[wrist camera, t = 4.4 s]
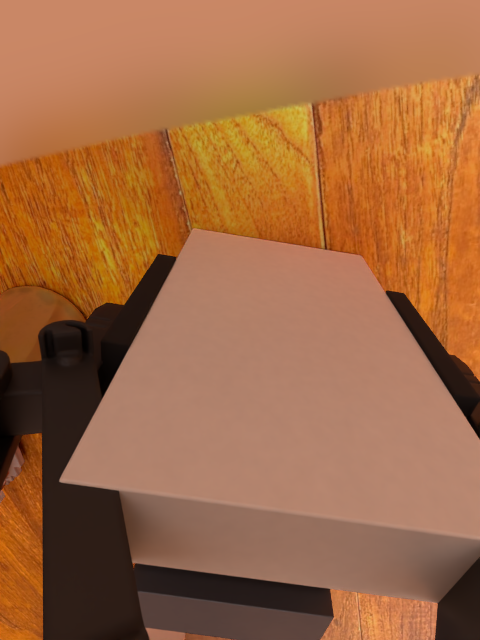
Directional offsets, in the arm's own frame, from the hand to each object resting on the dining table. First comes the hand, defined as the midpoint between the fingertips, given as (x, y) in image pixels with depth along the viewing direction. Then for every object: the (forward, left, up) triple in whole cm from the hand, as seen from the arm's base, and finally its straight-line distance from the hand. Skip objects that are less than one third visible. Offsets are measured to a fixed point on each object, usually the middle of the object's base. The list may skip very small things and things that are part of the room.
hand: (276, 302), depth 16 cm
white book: (0, 0, -4) cm, 4 cm away
